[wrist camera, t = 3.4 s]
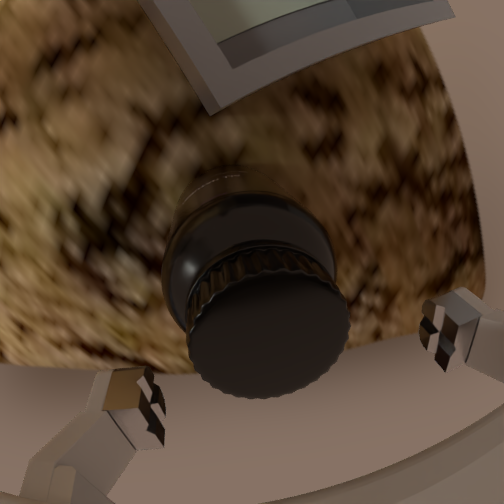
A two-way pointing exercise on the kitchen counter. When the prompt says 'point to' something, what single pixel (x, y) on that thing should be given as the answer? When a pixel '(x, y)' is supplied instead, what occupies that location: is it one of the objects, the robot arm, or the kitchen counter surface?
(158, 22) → the walled bin
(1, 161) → the kitchen counter surface
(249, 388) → the supplement bottle
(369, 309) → the kitchen counter surface
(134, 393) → the robot arm
